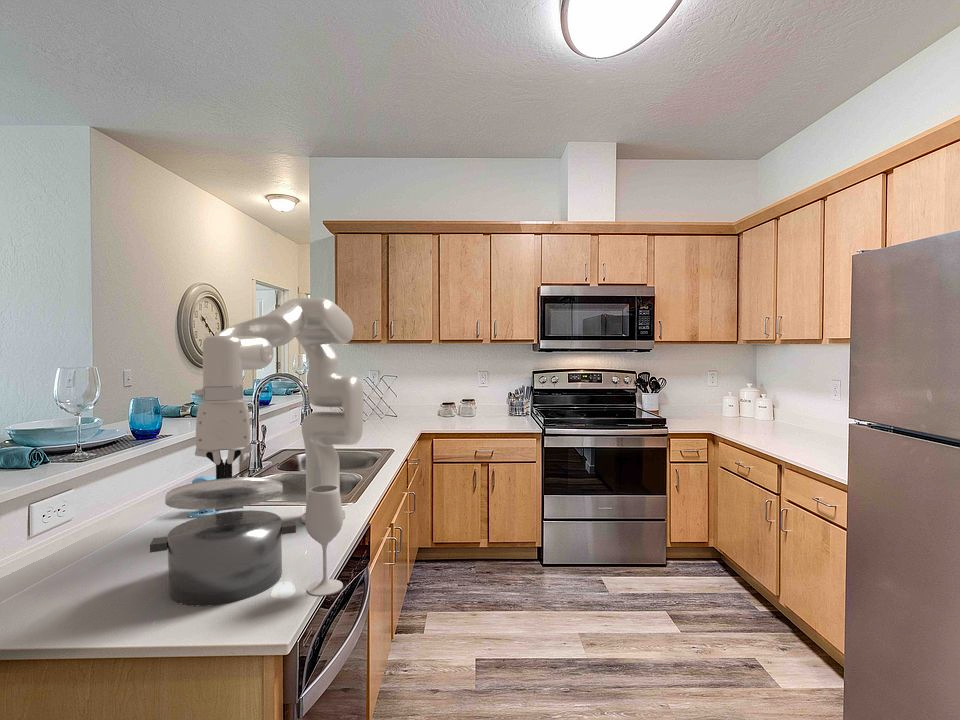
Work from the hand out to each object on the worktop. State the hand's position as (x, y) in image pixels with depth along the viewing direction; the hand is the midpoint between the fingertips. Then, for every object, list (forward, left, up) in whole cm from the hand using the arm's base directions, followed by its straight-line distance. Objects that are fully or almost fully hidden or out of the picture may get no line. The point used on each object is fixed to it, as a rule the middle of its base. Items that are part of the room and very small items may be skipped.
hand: (224, 482), depth 110 cm
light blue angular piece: (-59, -8, -23) cm, 63 cm away
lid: (-5, 0, -5) cm, 7 cm away
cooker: (-4, 0, -23) cm, 23 cm away
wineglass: (+8, +19, -23) cm, 31 cm away
